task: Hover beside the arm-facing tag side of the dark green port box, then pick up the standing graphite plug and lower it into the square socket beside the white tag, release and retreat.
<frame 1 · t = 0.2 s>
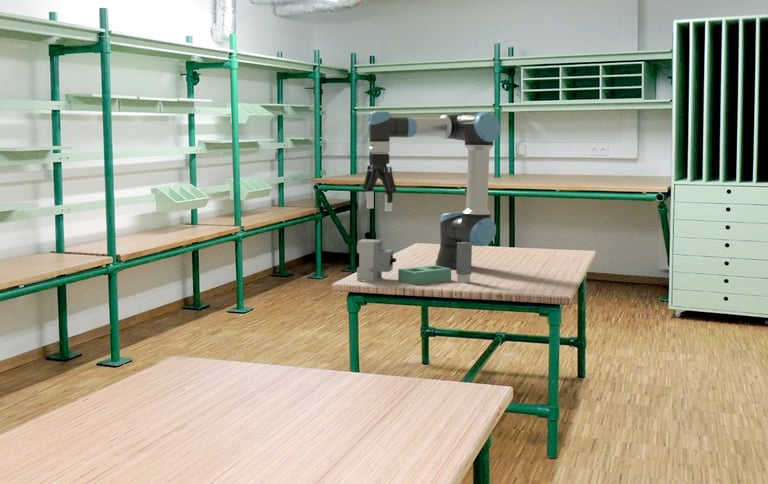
hand: (379, 210, 323), 27 cm above the table, fingers open, 13 cm apart
circuit breaker: (377, 280, 332), on the table
port box: (424, 280, 330), on the table
plug: (463, 281, 328), on the table
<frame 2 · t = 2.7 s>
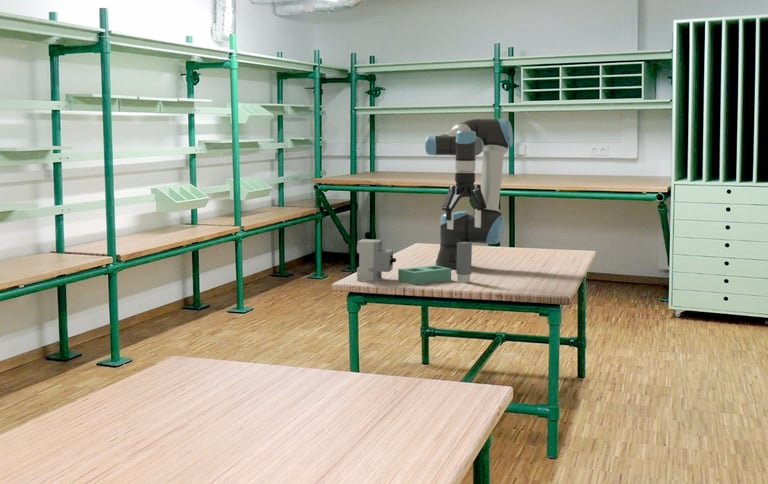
hand: (464, 228, 326), 20 cm above the table, fingers open, 13 cm apart
nothing on the table moved.
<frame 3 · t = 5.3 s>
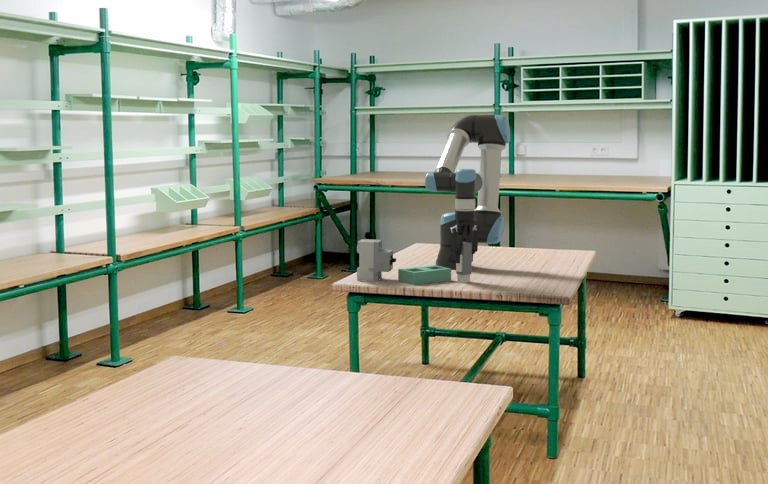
hand: (463, 270, 328), 4 cm above the table, fingers closed on plug, 4 cm apart
plug: (463, 281, 328), on the table, touching gripper
everything else where it was.
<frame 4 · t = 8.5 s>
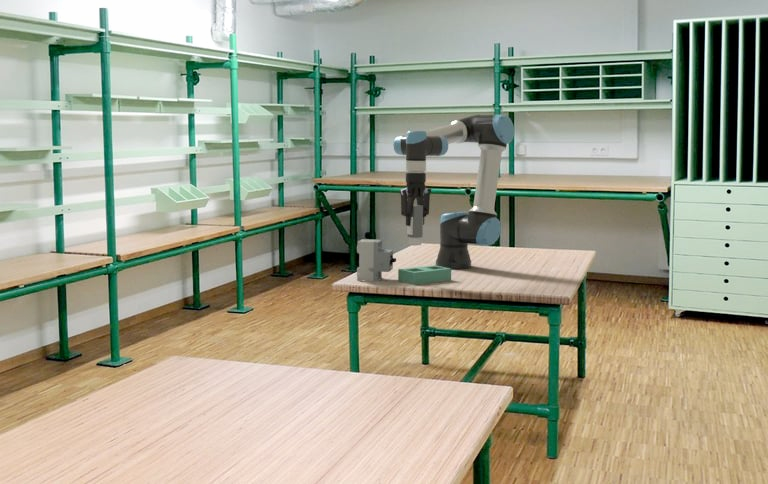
hand: (414, 233, 325), 18 cm above the table, fingers closed on plug, 4 cm apart
plug: (414, 244, 325), point 14 cm above the table, touching gripper
everything else where it was.
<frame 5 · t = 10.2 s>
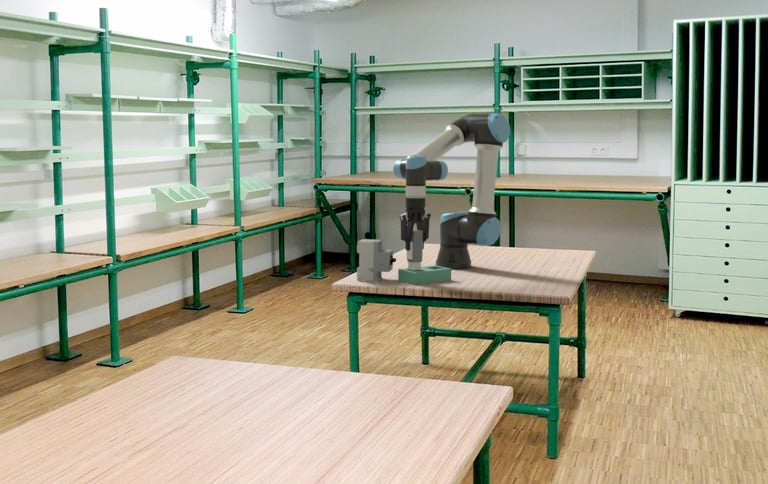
hand: (414, 258, 326), 9 cm above the table, fingers closed on plug, 4 cm apart
plug: (414, 269, 326), point 5 cm above the table, touching gripper
everything else where it was.
when the fingers open (6 cm above the table, at t = 11.8 s): plug drops 1 cm, resting in port box.
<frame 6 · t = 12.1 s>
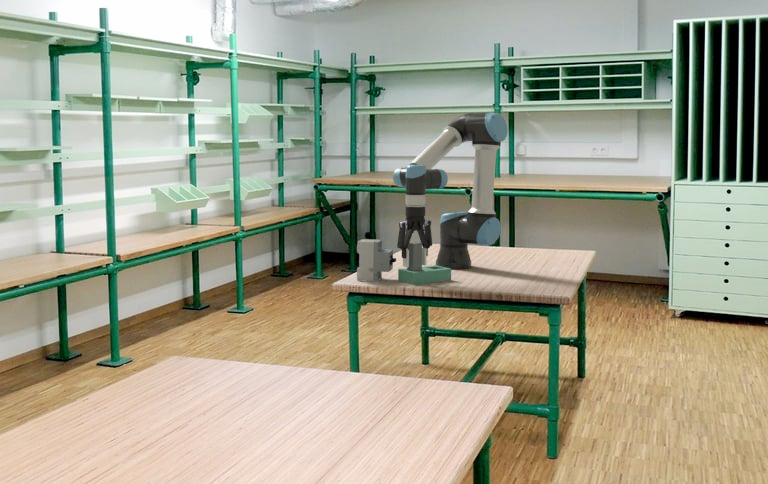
hand: (414, 265, 326), 6 cm above the table, fingers open, 8 cm apart
plug: (414, 281, 327), resting in port box
everything else where it was.
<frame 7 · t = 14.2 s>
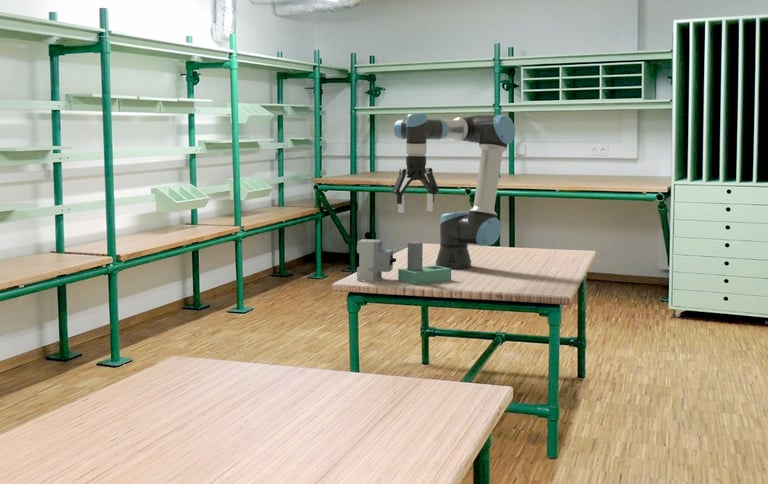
hand: (415, 211, 324), 27 cm above the table, fingers open, 13 cm apart
nothing on the table moved.
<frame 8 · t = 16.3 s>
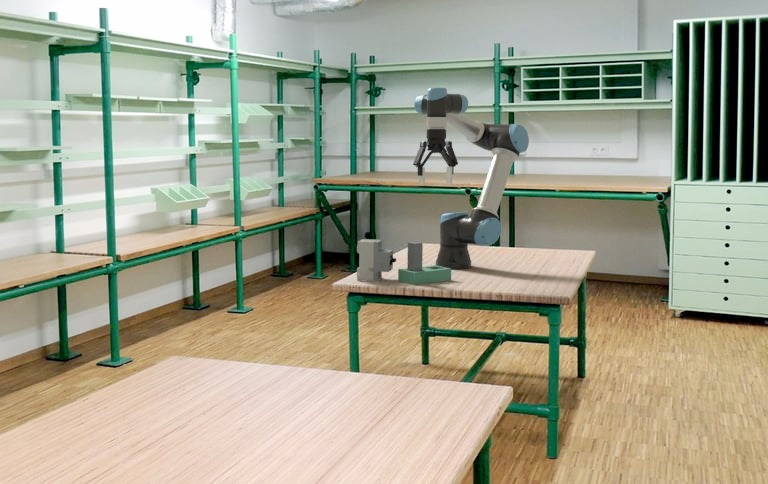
hand: (435, 184, 332), 37 cm above the table, fingers open, 13 cm apart
nothing on the table moved.
at the end: plug 0.1 cm from the target spot on the port box, point 0.0 cm above the port box's base; plug tilted 0°; the gripper is holding nothing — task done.
